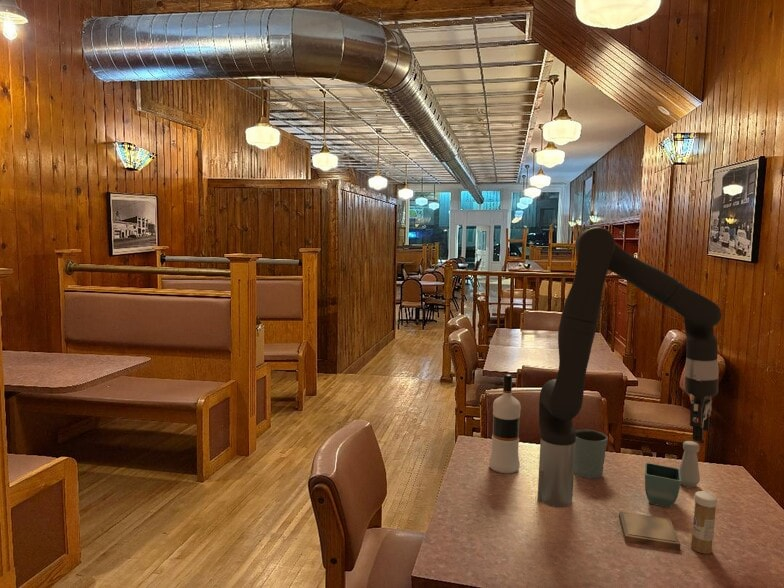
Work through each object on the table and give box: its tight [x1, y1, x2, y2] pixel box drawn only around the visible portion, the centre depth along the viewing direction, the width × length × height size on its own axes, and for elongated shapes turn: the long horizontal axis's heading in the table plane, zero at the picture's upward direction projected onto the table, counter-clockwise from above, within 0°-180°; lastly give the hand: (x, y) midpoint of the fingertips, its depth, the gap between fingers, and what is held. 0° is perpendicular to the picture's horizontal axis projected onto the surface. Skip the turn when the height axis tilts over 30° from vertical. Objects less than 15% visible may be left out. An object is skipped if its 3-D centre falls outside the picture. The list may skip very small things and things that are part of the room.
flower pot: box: [644, 462, 681, 508], centre depth 152 cm, size 9×9×9 cm
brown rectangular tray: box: [618, 511, 681, 551], centre depth 137 cm, size 12×12×2 cm
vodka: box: [488, 373, 522, 475], centre depth 171 cm, size 9×9×30 cm
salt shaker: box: [678, 440, 701, 489], centre depth 163 cm, size 6×6×13 cm
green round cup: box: [574, 429, 609, 480], centre depth 170 cm, size 10×10×12 cm
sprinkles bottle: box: [690, 490, 718, 554], centre depth 129 cm, size 5×5×13 cm
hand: (700, 435), depth 145 cm, fingers open, 8 cm apart
